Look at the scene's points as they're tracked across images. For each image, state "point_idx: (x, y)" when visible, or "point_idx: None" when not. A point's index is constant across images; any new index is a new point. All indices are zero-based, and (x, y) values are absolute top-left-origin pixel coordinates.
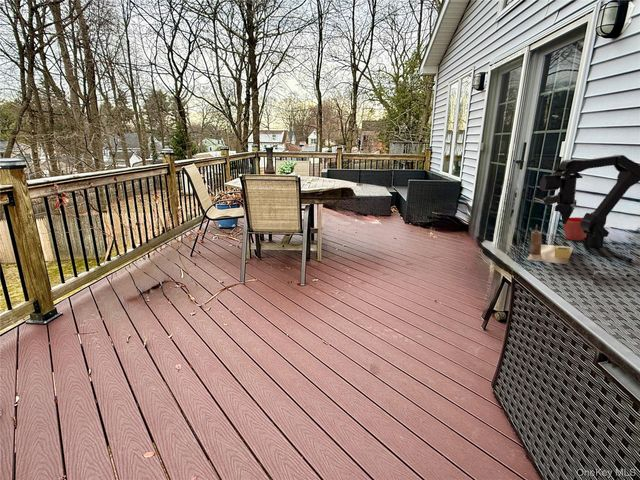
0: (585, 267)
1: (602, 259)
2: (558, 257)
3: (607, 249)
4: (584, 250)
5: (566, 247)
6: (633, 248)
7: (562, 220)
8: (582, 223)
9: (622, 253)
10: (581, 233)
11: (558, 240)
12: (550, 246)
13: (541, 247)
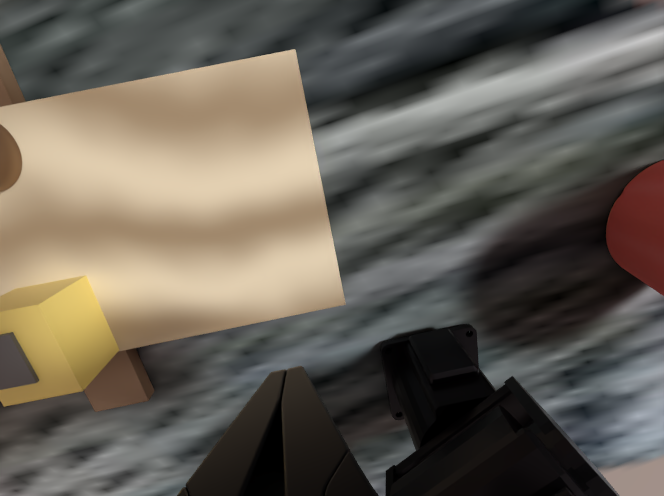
0: (10, 443)
1: None
2: None
3: None
4: (355, 349)
5: (69, 368)
6: None
7: (237, 422)
8: (503, 480)
9: None
10: (657, 287)
11: (561, 140)
12: (279, 173)
13: (203, 124)
